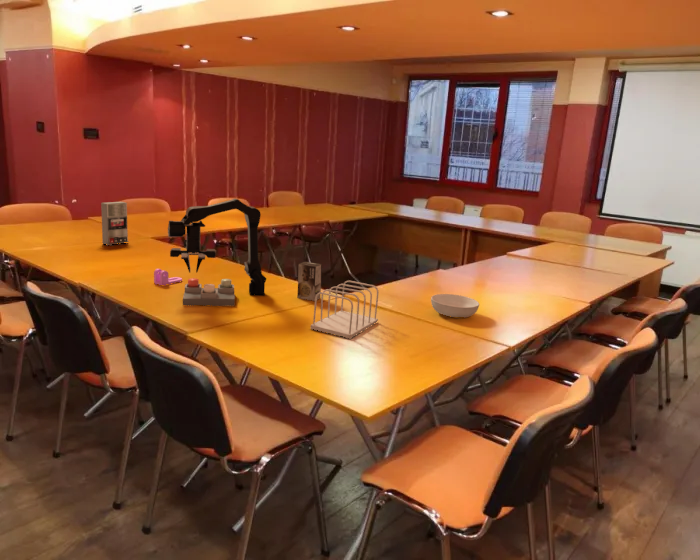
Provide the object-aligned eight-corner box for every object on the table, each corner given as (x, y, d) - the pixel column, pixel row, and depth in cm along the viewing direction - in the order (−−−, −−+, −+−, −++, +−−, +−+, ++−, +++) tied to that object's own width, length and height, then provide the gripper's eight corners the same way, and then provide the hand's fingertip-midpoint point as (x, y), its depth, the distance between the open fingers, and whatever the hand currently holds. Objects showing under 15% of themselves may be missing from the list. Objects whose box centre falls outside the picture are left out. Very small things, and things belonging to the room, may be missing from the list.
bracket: (161, 286, 259) (161, 271, 257) (154, 283, 262) (153, 269, 260) (184, 281, 269) (184, 267, 268) (176, 279, 272) (176, 265, 271)
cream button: (214, 290, 240) (214, 284, 239) (214, 293, 236) (214, 286, 235) (204, 290, 239) (204, 283, 238) (203, 293, 235) (203, 286, 234)
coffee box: (320, 298, 258) (322, 264, 254) (314, 301, 252) (316, 266, 248) (303, 294, 262) (305, 261, 258) (296, 297, 256) (298, 263, 252)
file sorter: (350, 340, 208) (353, 299, 204) (309, 330, 215) (312, 291, 211) (377, 323, 230) (381, 286, 226) (340, 314, 237) (343, 278, 233)
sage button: (231, 285, 250) (231, 279, 249) (231, 288, 246) (231, 281, 245) (221, 285, 249) (221, 278, 248) (221, 288, 245) (221, 281, 244)
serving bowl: (473, 325, 235) (475, 310, 233) (424, 317, 242) (426, 301, 240) (480, 312, 254) (482, 298, 252) (434, 305, 261) (436, 291, 259)
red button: (198, 285, 247) (198, 278, 246) (198, 287, 243) (198, 281, 242) (188, 284, 246) (188, 278, 245) (187, 287, 242) (187, 280, 241)
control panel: (233, 294, 253) (234, 284, 252) (234, 305, 237) (234, 294, 236) (185, 294, 249) (185, 283, 247) (182, 305, 232) (182, 294, 231)
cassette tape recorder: (108, 246, 333) (107, 204, 327) (102, 244, 336) (100, 202, 330) (128, 243, 344) (127, 202, 338) (122, 242, 347) (121, 201, 341)
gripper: (216, 234, 249) (215, 268, 253) (172, 232, 245) (172, 267, 248) (215, 238, 238) (215, 274, 242) (169, 237, 234) (170, 273, 238)
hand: (193, 272), depth 243 cm, fingers open, 3 cm apart
